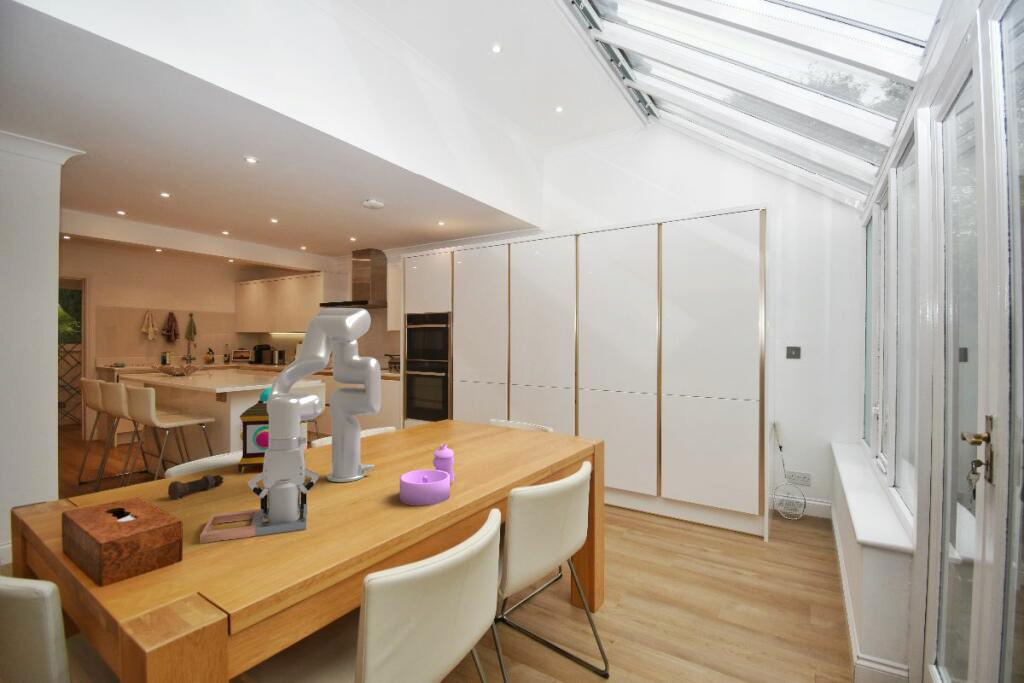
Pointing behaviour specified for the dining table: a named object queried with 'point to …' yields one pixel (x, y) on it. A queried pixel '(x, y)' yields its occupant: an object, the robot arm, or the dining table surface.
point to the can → (283, 502)
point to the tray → (249, 531)
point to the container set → (429, 481)
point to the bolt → (193, 485)
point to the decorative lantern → (255, 432)
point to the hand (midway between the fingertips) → (284, 508)
